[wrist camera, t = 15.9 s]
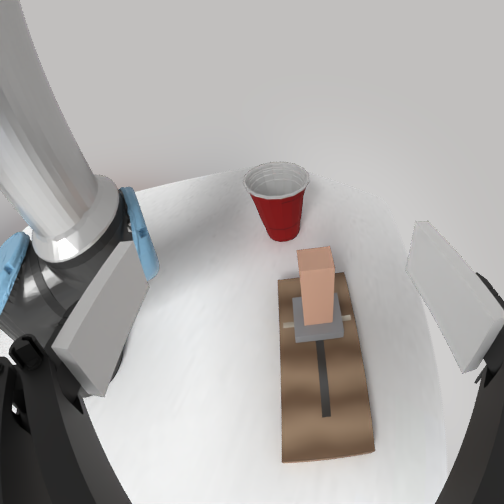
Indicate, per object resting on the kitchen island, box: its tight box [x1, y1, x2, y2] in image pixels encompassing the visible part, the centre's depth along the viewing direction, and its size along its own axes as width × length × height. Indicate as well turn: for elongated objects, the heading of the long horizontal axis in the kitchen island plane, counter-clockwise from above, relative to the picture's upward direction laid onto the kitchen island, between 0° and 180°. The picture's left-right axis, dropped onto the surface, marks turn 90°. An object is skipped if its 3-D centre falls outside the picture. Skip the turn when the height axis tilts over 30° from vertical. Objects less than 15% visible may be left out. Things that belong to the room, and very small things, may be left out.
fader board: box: [278, 272, 375, 463], centre depth 34 cm, size 26×10×2 cm, turn 179°
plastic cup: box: [243, 162, 309, 242], centre depth 50 cm, size 11×11×12 cm
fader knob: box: [292, 246, 344, 343], centre depth 33 cm, size 6×6×12 cm
